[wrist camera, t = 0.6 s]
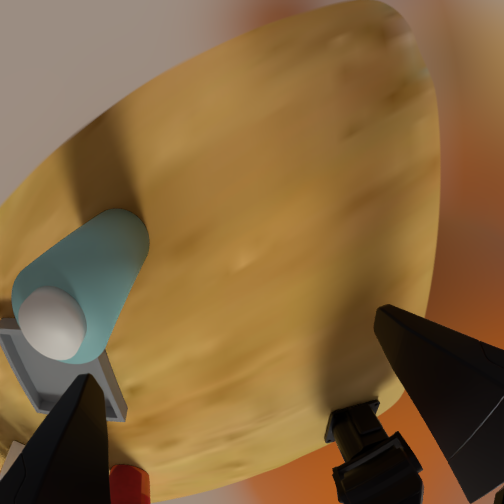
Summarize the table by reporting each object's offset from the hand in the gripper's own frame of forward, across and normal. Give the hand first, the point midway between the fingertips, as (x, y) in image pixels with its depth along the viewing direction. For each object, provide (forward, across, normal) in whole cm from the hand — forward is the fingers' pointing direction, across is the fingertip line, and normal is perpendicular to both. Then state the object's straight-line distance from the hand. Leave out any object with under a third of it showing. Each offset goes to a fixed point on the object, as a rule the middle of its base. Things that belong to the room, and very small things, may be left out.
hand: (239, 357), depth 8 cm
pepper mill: (+15, +7, +1) cm, 16 cm away
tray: (+14, +17, +12) cm, 25 cm away
